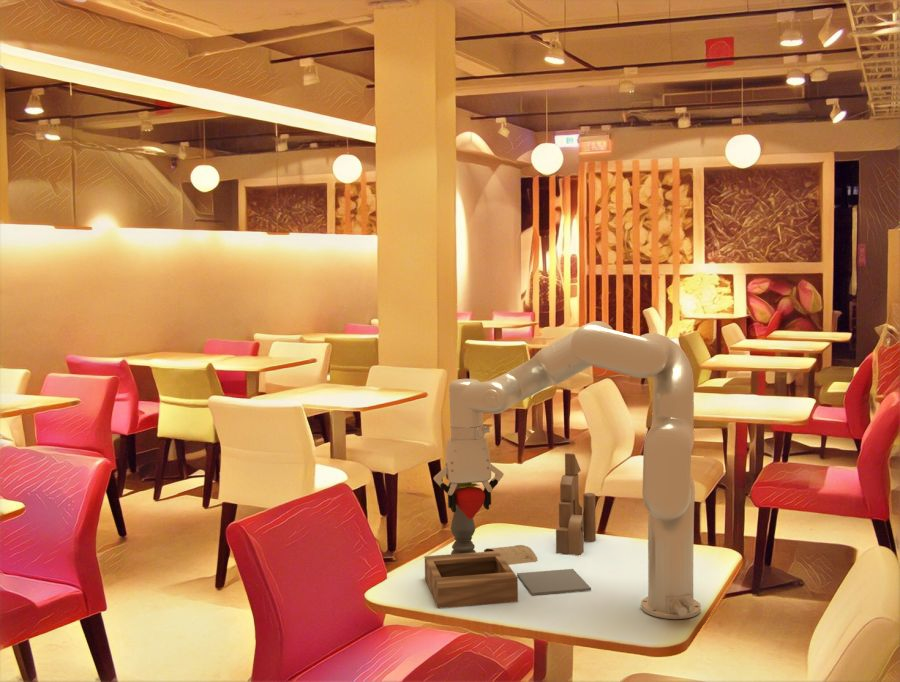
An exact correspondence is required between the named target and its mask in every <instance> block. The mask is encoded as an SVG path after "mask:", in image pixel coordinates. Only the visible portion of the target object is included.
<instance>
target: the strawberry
mask: <svg viewBox="0 0 900 682" xmlns="http://www.w3.org/2000/svg"><path fill="white" fill-rule="evenodd" d="M460 485H463V486H461V487H458V488H457V489H456V490H455V491H454V494H455V496H456V504H457V506H458V507H459V509H460V510H461V511H462V512H463V513H464V514H465V515H466V517H467V518H469V519H472V518H473V519H474V518H475V516H476V515H477V513H478V512H480V510H481V508H483V507H482V506H483V504H484V500H485V493H484V489H482V488H480V487H478V486H480V484H477V483H468V484H460Z"/></svg>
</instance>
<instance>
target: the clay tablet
mask: <svg viewBox="0 0 900 682" xmlns="http://www.w3.org/2000/svg"><path fill="white" fill-rule="evenodd" d="M489 551H498V552H499V553H500V555H501V556H502V557H503V559H504V560H505V561H506V563H507V564H508V565H509V566H511V565H517V564H529V563H537V562H538V557H537V555H536V553H535V552H534V551H533V550H532V548H531V547H529V546H527V545H524V544H518V545H511V546H509V545H508V546H501V547H492V548H491V547H490V548H485V549H484V550H483V552H489ZM536 561H537V562H536Z"/></svg>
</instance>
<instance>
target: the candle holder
mask: <svg viewBox="0 0 900 682" xmlns="http://www.w3.org/2000/svg"><path fill="white" fill-rule="evenodd" d="M464 484H468V483H464ZM461 486H463V485H460V484H457V486H456V488H455V490H456V489H457V488H458V487H461ZM455 490H454V491H455ZM450 532H451V534H452V536H453V537H454V538H453V539H454V540H455V541H454V542H453V544H452V545H451V549H452V550H451V552H450V553H451V554H462V553H476V552H477V551H476V550H475V547H476V545H475V544H474V542H473V541H472V539H473V536H474V533H475V532H476V525H475V520H474V517H473V518H472V519H469V518H467V517H466V515H465V514H464V513H463V512H462V511H461V510H460V509H459V507H458V506H457V504H456V512H453V515H452V519H451V524H450Z"/></svg>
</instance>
